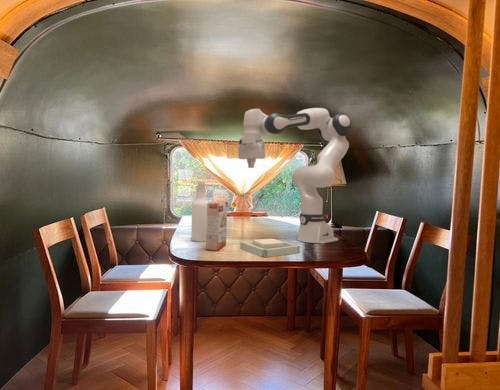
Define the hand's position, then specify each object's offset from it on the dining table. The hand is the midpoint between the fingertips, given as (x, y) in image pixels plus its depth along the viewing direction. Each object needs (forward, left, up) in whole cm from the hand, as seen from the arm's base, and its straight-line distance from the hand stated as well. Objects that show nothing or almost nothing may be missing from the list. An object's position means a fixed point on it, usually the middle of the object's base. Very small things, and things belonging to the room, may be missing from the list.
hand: (251, 167), depth 175 cm
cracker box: (+24, +10, -37) cm, 45 cm away
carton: (+8, +28, -37) cm, 47 cm away
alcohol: (+24, -8, -37) cm, 45 cm away
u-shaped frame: (+6, +26, -37) cm, 46 cm away
